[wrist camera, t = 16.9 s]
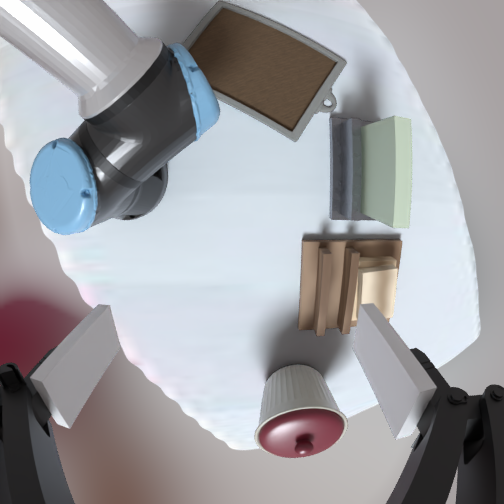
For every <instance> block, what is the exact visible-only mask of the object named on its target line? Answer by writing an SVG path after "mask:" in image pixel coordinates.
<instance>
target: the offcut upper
mask: <svg viewBox="0 0 504 504" xmlns="http://www.w3.org/2000/svg"><path fill="white" fill-rule="evenodd" d="M397 273H398V268H397V267H395V266H394V265H393V264H387V265H380V266H372V267H364V268H358V287H357V307H356V318H357V319H358V314H359V308H360V304H368V303H374V304H375V306H376V307H377V308H378V309H379V311H380V312H381V313H382V314H383V316H384V317H385V318H391V317H393V312H394V303H395V295H396V285H397Z"/></svg>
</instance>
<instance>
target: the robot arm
mask: <svg viewBox="0 0 504 504" xmlns="http://www.w3.org/2000/svg"><path fill="white" fill-rule="evenodd" d="M0 36H1V37H2V38H3V39H5V40H6V41H7V42H9V43H10V44H11V45H13V46H14V47H15V48H17V49H18V50H19V51H21V52H22V53H23V54H25V55H26V56H27V57H29V58H30V59H31V60H32V61H34V62H35V63H36V64H38V65H39V66H40V67H42V68H43V69H44V70H45V71H47V72H48V73H49V74H51V75H52V76H53V77H54V78H56V79H57V80H58V81H60V82H61V83H62V84H63V85H65V86H66V87H67V88H69V89H70V90H71V91H72V92H74V93H75V94H76V95H77V96H78V106H79V115H80V116H81V117H82V118H83V119H84V120H85V121H84V122H83V123H82V124H81V125H80V126H79V127H78V128H77V129H76V130H75V132H74V133H73V134H72V135H71V136H70V137H69V138H68V139H67V138H59V139H56V140H54V141H51V142H49V143H47V144H46V145H45V146H44V147H43V148H42V149H41V150H40V151H39V153H38V154H37V156H36V158H35V160H34V162H33V165H32V169H31V174H30V187H31V188H30V195H31V200H32V204H33V207H34V209H35V212H36V214H37V216H38V217H39V219H40V220H41V222H42V223H43V224H44V225H45V226H46V227H47V228H48V229H49V230H51V231H53V232H55V233H58V234H62V235H70V234H74V233H80V232H84V231H85V230H87V229H88V228H90V227H92V226H94V225H97V224H99V223H101V222H104V221H106V220H108V219H111V218H116V219H120V220H133V219H137V218H140V217H142V216H144V215H146V214H148V213H149V212H151V211H152V210H153V209H154V208H155V207H156V206H157V205H158V204H159V203H160V201H161V199H162V198H163V196H164V193H165V190H166V187H167V180H168V172H167V166H166V163H167V162H168V161H169V160H171V159H172V158H173V157H174V156H176V155H177V154H178V153H179V152H181V151H182V150H183V149H184V148H186V147H187V146H188V145H190V144H191V143H192V142H193V141H197V140H198V139H199V138H200V136H201V135H202V134H203V133H204V132H205V131H207V130H208V129H209V128H210V127H212V126H213V125H214V124H215V123H216V122H217V120H218V118H219V115H220V107H219V104H218V101H217V99H216V96H215V94H214V92H213V90H212V88H211V86H210V84H209V82H208V81H207V79H206V77H205V75H204V74H203V72H202V71H201V69H199V68H198V65H197V64H196V62H195V61H194V59H193V57H192V56H191V54H190V53H189V52H188V51H187V50H186V48H185V47H184V46H182V45H181V44H180V43H174V44H169V45H168V46H167V47H166V46H165V44H164V43H163V42H162V41H161V40H160V39H159V38H156V37H138V36H137V35H136V34H135V33H134V32H133V31H132V30H131V29H130V28H129V27H128V25H127V24H126V23H125V22H124V21H123V20H122V19H121V18H120V17H119V16H118V15H117V14H116V13H115V12H114V11H113V10H112V9H111V8H110V7H109V6H108V5H107V4H106V3H105V2H104V1H103V0H0ZM120 347H121V345H120V342H119V339H118V335H117V331H116V328H115V324H114V320H113V316H112V312H111V308H110V305H100V304H98V305H97V306H96V307H95V308H94V309H93V310H92V312H90V313H89V314H88V315H87V316H86V318H84V319H83V321H82V322H80V323H79V324H78V326H77V327H76V328H75V329H74V330H73V331H72V332H71V333H70V334H69V335H68V336H67V337H66V338H65V339H64V340H63V341H62V342H61V343H60V344H59V346H56V347H55V348H53V349H51V350H50V351H49V352H48V353H47V354H46V355H45V356H44V357H43V358H42V359H41V360H40V361H39V363H38V364H37V365H36V366H35V367H34V368H33V369H32V370H31V371H30V372H29V374H28V375H27V376H26V377H25V378H23V376H22V374H21V372H20V370H19V368H18V366H17V365H16V364H15V363H6V364H3V365H1V366H0V385H1V386H0V504H75V503H74V500H73V498H72V495H71V493H70V490H69V487H68V484H67V481H66V478H65V475H64V472H63V469H62V465H61V462H60V459H59V455H58V451H57V447H56V443H55V439H54V435H53V430H52V426H51V423H50V421H49V418H50V417H51V415H52V416H53V418H54V419H55V421H56V423H57V424H59V425H62V426H64V427H67V428H71V426H72V424H73V422H74V421H75V419H76V417H77V416H78V414H79V412H80V410H81V409H82V407H83V406H84V404H85V402H86V401H87V399H88V397H89V396H90V394H91V393H92V391H93V389H94V388H95V386H96V384H97V383H98V381H99V380H100V378H101V377H102V375H103V374H104V372H105V370H106V369H107V367H108V366H109V364H110V363H111V361H112V360H113V358H114V357H115V355H116V354H117V352H118V350H119V349H120ZM352 348H353V350H354V352H355V354H356V356H357V358H358V360H359V362H360V364H361V366H362V368H363V370H364V373H365V375H366V377H367V379H368V381H369V383H370V385H371V387H372V389H373V391H374V394H375V396H376V398H377V400H378V402H379V404H380V407H381V409H382V411H383V413H384V415H385V417H386V420H387V422H388V424H389V427H390V429H391V431H392V433H393V436H394V438H395V440H396V439H399V438H403V437H406V436H409V435H412V433H413V431H414V430H415V428H416V426H417V427H418V429H419V431H420V434H419V435H418V437H417V438H416V440H415V441H414V443H413V444H412V446H411V448H413V449H412V452H411V454H410V456H409V459H408V461H407V463H406V465H405V468H404V470H403V472H402V474H401V476H400V478H399V480H398V482H397V484H396V486H395V488H394V490H393V492H392V494H391V496H390V497H389V499H388V501H387V503H386V504H445V503H446V501H447V498H448V495H449V493H450V489H451V487H452V483H453V480H454V477H455V474H456V470H457V467H458V478H457V494H456V504H504V388H503V387H501V386H499V385H490V386H488V387H487V388H486V389H485V391H484V393H483V395H476V396H475V395H474V396H469V395H468V394H467V393H466V392H465V391H464V390H462V389H460V388H456V387H450V386H449V385H448V383H447V382H446V381H445V379H444V378H443V377H442V376H441V374H440V373H439V371H438V370H437V369H436V368H435V366H434V365H433V363H432V362H430V360H429V358H428V357H427V356H426V355H425V353H423V352H422V351H420V350H418V349H417V348H414V349H409V348H408V347H407V345H406V344H405V343H404V341H403V340H402V339H401V337H400V336H399V335H398V334H397V332H396V331H395V330H394V328H393V327H392V326H391V325H390V323H389V322H388V321H387V319H386V318H385V317H384V316H383V314H382V313H381V312H380V311H379V309H378V308H377V307H376V306H375V304H374V303H368V304H360V308H359V314H358V320H357V326H356V332H355V337H354V342H353V347H352Z"/></svg>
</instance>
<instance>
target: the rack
mask: <svg viewBox="0 0 504 504" xmlns="http://www.w3.org/2000/svg"><path fill="white" fill-rule="evenodd" d="M401 248H402V241H401V240H399V239H356V240H302V255H301V281H300V300H299V317H298V329H299V330H312V329H314V330H315V333H316V336H324V335H325V329H328V328H339V329H340V331H341V333H342V334H349V332H350V327H353V326H357V320H354V321H351V320H352V314H353V307H354V300H355V293H356V285H357V277H358V268H359V258H360V257H388V256H391V257H393V258H394V259H395V260H397V262H396V267H397V268H398V271H399V264H400V256H401ZM397 277H398V273H397ZM386 319H387V321H388V322H389V319H390V318H386Z"/></svg>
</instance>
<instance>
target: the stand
mask: <svg viewBox="0 0 504 504" xmlns="http://www.w3.org/2000/svg"><path fill="white" fill-rule="evenodd" d="M329 121H330V219H331V220H357V221H360V220H375V219H373V218H371V217H369V216H367V215H364V214H362V213H360V210H361V178H362V150H361V127H363V126H365V125H368V124H371V123H374V122H370V121H362V120H361V119H356V118H350V119H344V118H333V117H332V118H330V119H329Z"/></svg>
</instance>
